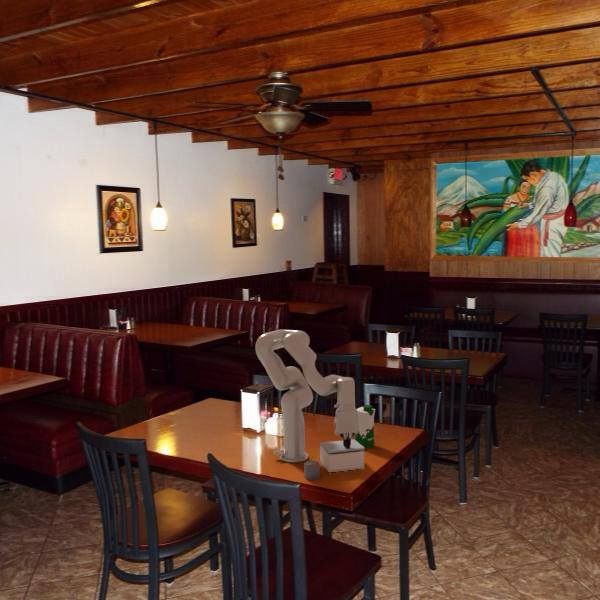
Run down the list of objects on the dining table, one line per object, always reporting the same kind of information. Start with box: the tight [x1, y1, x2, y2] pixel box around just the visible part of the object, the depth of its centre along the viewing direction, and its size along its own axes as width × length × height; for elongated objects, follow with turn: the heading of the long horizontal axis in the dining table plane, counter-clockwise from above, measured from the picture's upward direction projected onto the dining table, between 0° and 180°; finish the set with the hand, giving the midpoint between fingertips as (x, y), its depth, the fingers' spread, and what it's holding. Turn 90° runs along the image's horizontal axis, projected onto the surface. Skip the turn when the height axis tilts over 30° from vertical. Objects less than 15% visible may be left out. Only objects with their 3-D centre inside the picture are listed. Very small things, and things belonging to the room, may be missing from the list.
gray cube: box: [303, 460, 321, 481], centre depth 258 cm, size 6×6×6 cm
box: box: [319, 445, 365, 474], centre depth 271 cm, size 16×14×8 cm
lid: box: [318, 438, 366, 454], centre depth 270 cm, size 16×14×1 cm
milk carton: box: [354, 404, 376, 450], centre depth 294 cm, size 9×9×20 cm
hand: (347, 447), depth 266 cm, fingers closed
